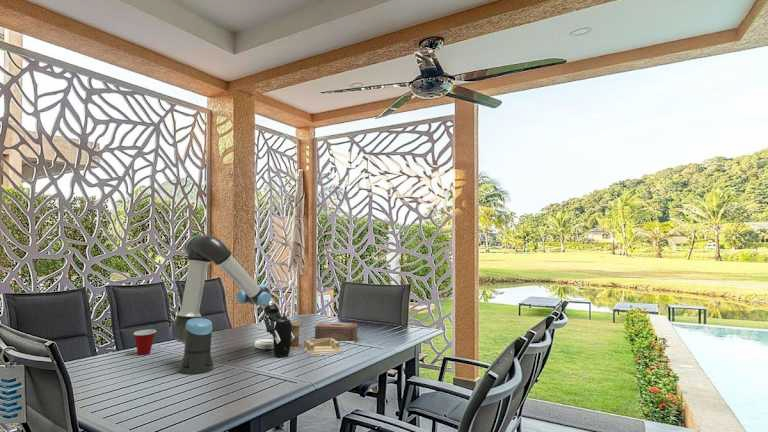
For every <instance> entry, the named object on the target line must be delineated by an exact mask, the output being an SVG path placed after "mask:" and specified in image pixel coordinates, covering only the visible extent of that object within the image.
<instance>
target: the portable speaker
mask: <svg viewBox="0 0 768 432" xmlns="http://www.w3.org/2000/svg"><path fill="white" fill-rule="evenodd" d="M291 322H292V321H291V320H290V319H289V318H287V319H281V320H278V319H277V320H276V322H275V323H274V331H275V330H276V332H277V333H278V336H279V338H280V340H281V341H280V342H279V343H277V342H276V340H275V338H274V337H273V342H272V343H273V345H272V346H273V355H274V357H275V356H276V357H275V358H282V357H284V356H285V357H286V356H287V357H289V356H288V355H290V351H291V349H290V346H291Z"/></svg>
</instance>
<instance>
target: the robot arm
mask: <svg viewBox="0 0 768 432" xmlns="http://www.w3.org/2000/svg"><path fill="white" fill-rule="evenodd" d="M185 252H186V254H187V258H186V261H187V263H188V269H187V274H186V275H187V276H186V281H185V285H184V291H183V295H182V296H183V297H182V302H181V306H180V311H179V312H176V316H175V319H174V320H173V321H172V323H171V324H170V329H169V331H170V335H171V337H172V338H173V339H175V341H177V342H180V343H183V344H184V353H183V356H182V359H181V361H180V363H179V367H178V372H179V373H181V374H185V375H194V374H196V375H197V374H203V373H208V372H211V371H212V370H214V367H215V366H214V364H215V362H214V360H213V356H212V338H213V337H212V336H213V323H212V320H210V319H207V318H203V317H202V314H201V313H200V309H201V308H200V307H201V302H202V297H203V291H204V285H205V279H206V273H207V270H208V266H209V265H210V264H211V263H214V265H215V266H219V267H220V268H221V269H222V270H223V271H224V272H225V273H226V274H227V275H228V276H229V277H230V278H231V279H232V281H233V282H235V284H236V285H237V286H238V287H239V288H240V290H238V292H237V293H236V301H237V303H238V304H240V305H242V304H243V305H245V304H250V305H255V306H259V307H261V308H262V310H263V312H264V314H265V315H264V317H262V320H263V321H264V324H265V328H266V333H268V334H270V335H271V336H272V338H273V339H274V338H275V340H276V342H277V343H279V342H280V341H281V340H280V338H279V336H278V333H277V332H276V330H275V331H274V329H275V323H276V320H277V319H278V320H281V319H288V317H287V315H286V313H280V311H279V308H278V306H277V303H276V301H275V300H274V297H273V294H271V291H270V288H269V287H268V286H267V284H266V283H259V284H258V283H257V282H256V280H254V279H253V278H252V277H251V276H250V275H249V272H247V271H246V270H245V269H244V268H243V266H242V265H240V263H239V262H238V261H237V260H236V259H235V258H234V256H233V255H232V254H233V253H232V251H231V250H230V249H229V248H228V246H226V245H225V243H224V242H223V241H221V240H220V239H219V238H217V237H216V236H213V235H195V236H192V237H191V238H190V239H188V241H187V242H186V245H185ZM292 327H293V325H292V324H291V328H292ZM293 339H294V336H293V332H292V330H291V341H292V340H293Z"/></svg>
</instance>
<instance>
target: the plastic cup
mask: <svg viewBox="0 0 768 432" xmlns="http://www.w3.org/2000/svg"><path fill="white" fill-rule="evenodd" d="M156 332H157V330H156V329H153V328H152V329H151V328H149V329H141V330H137V331H135V332H133V335H134V338H135V339H134V340H135V344H136V351H137V355H138V356H145V355H147V356H148V355H149V354H151V350H152V347H153V342H154V339H155V335H156Z"/></svg>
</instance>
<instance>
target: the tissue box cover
mask: <svg viewBox="0 0 768 432" xmlns="http://www.w3.org/2000/svg"><path fill="white" fill-rule="evenodd" d="M358 326H359V325H358V323H355V322H354V323H353V322H329V321H328V322H327V321H324V322H323V321H319V322H317V324H316V325H315V327H314V339H322V338H333V339H334V340H336V341H355V340H356V341H357V339H358ZM356 338H357V339H356ZM356 341H355V342H356Z"/></svg>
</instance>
